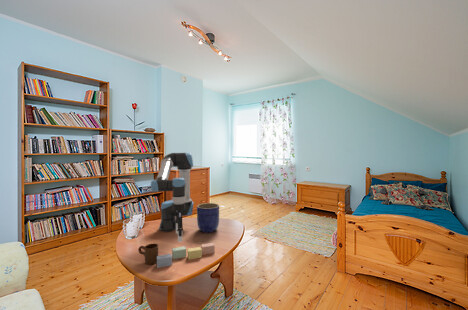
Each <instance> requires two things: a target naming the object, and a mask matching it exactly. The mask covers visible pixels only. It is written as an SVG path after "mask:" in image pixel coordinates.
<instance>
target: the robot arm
mask: <svg viewBox="0 0 468 310" xmlns="http://www.w3.org/2000/svg"><path fill="white" fill-rule="evenodd" d="M174 167H175V168H177V170H178V171H179V172H178V174H179V177H174V178H173V179H169V177H170V174H171V170H172V168H174ZM192 167H194V159H193V155H192V153H191V152H171V153H168V154H166V155H165V156H164V157H163V158H162V159H161V161H160V167H159V170H158V171H159V172H158V173H157V176H156V179H153V180H151V181H150V190H151V192H172V197H171V199H170V200H166V201H163V202H161V205H160V213H161V214H160V215H161V216H160V217H161V219H160V223H159V225H158V230H159V231H160V232H162V233H167V232H168V233H169V232H173V231H175V235H177V243H181V242H183V237H184V236H183V230H184V226H183V224H184V223H183V217H185V216H186V217H188V216H192V214H193V210H194V209H193V208H194V201H193V200H192V198H191V174H190V173H191V170H192Z"/></svg>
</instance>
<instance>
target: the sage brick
mask: <svg viewBox="0 0 468 310" xmlns="http://www.w3.org/2000/svg"><path fill="white" fill-rule="evenodd" d="M171 255H172V260H176V259H182V258H185V257H187V248H186V246H180V247H173V248H172V249H171Z"/></svg>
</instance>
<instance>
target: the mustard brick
mask: <svg viewBox="0 0 468 310" xmlns="http://www.w3.org/2000/svg"><path fill="white" fill-rule="evenodd" d="M202 256H203V255H202V249H201V246H196V247H191V248H190V247H189V248H187V258H188V260H194V259H199V258H203V257H202Z"/></svg>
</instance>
